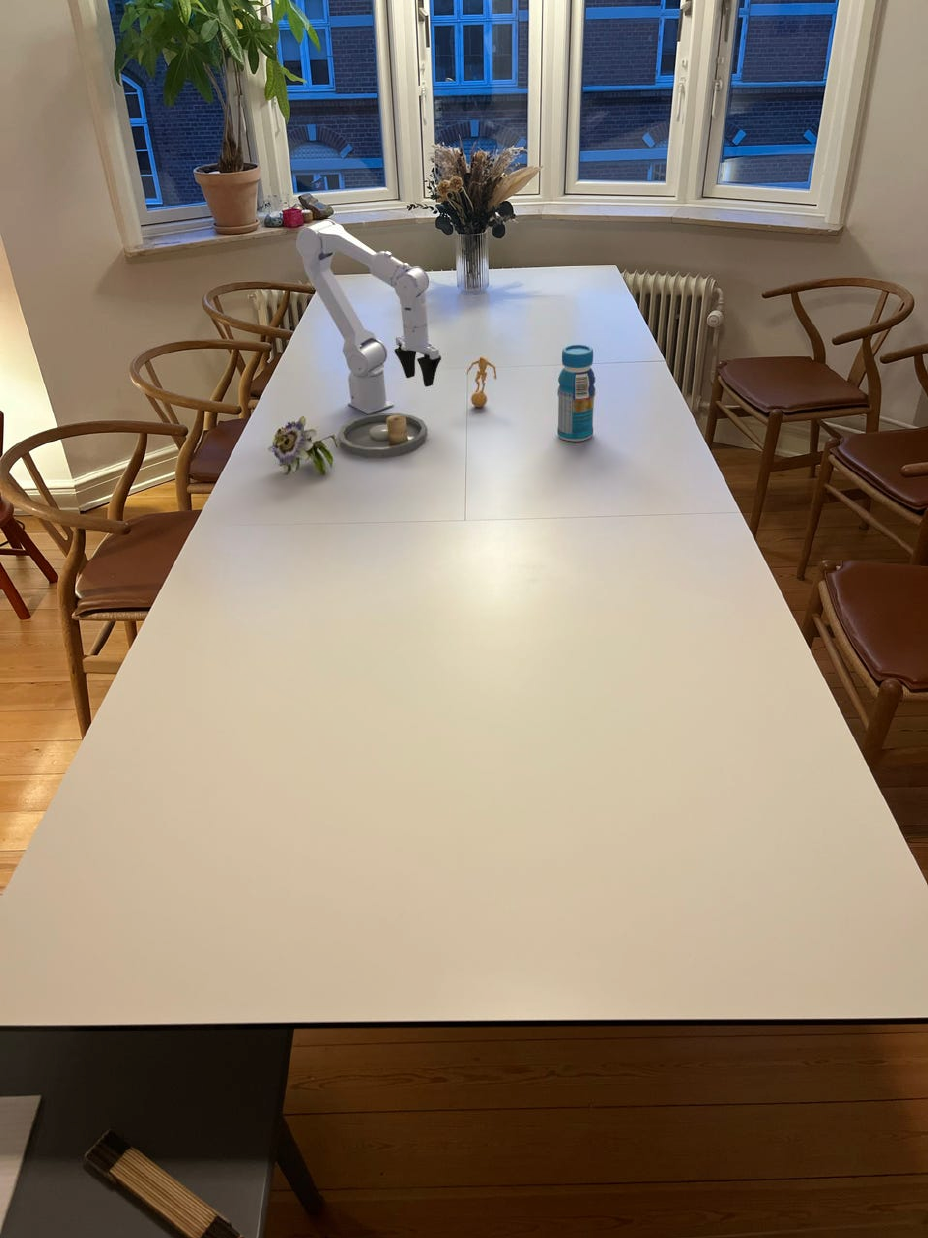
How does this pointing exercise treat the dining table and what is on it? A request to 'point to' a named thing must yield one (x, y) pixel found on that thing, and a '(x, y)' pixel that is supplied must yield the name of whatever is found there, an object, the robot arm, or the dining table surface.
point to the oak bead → (397, 429)
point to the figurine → (479, 396)
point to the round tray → (380, 449)
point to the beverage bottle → (576, 394)
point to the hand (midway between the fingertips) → (419, 381)
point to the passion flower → (299, 447)
